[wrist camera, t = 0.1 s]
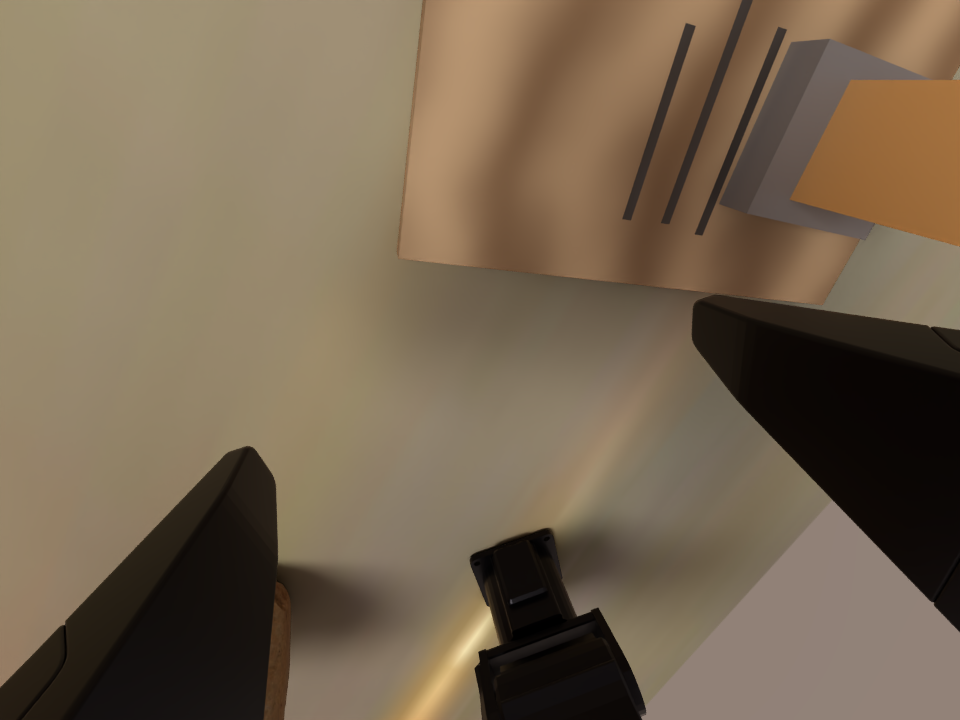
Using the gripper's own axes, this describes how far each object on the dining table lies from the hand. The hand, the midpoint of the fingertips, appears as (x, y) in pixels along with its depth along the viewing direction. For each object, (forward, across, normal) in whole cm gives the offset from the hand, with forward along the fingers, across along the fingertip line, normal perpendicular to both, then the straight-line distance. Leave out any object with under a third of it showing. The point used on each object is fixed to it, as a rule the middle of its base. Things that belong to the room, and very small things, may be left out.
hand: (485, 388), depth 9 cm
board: (+15, -14, 0) cm, 20 cm away
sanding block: (+14, -20, +2) cm, 24 cm away
